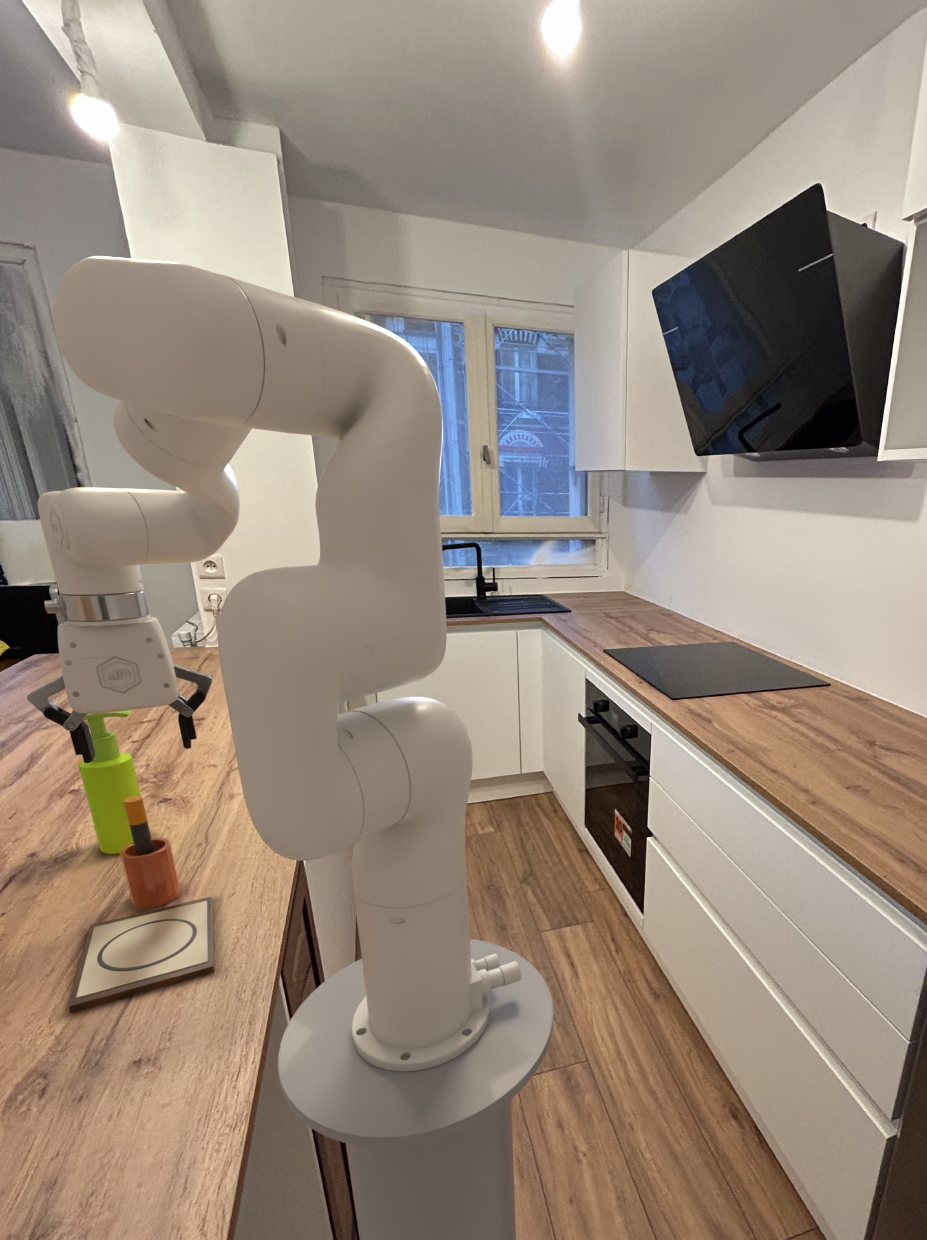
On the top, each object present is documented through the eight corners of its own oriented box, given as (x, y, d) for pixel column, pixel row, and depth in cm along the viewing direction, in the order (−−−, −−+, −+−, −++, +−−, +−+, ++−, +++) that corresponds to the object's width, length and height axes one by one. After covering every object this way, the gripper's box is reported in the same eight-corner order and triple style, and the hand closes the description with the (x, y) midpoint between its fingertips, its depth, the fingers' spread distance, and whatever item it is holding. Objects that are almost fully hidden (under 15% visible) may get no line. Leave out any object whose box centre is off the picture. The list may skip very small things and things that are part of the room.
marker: (164, 888, 82) (142, 794, 77) (163, 895, 80) (141, 800, 76) (146, 892, 81) (124, 797, 77) (145, 899, 79) (122, 803, 75)
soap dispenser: (155, 847, 92) (125, 714, 86) (96, 857, 89) (59, 720, 83) (162, 830, 97) (133, 703, 91) (105, 838, 94) (72, 708, 88)
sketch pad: (212, 901, 80) (211, 895, 80) (214, 972, 68) (213, 964, 68) (91, 930, 74) (89, 923, 74) (70, 1013, 62) (67, 1005, 62)
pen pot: (181, 882, 84) (170, 834, 82) (179, 901, 80) (168, 851, 78) (134, 892, 82) (122, 843, 79) (130, 912, 78) (117, 861, 75)
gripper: (-5, 618, 65) (40, 776, 70) (198, 608, 73) (224, 749, 79) (13, 609, 71) (53, 755, 76) (198, 601, 79) (223, 732, 85)
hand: (140, 752), depth 77 cm, fingers open, 9 cm apart
